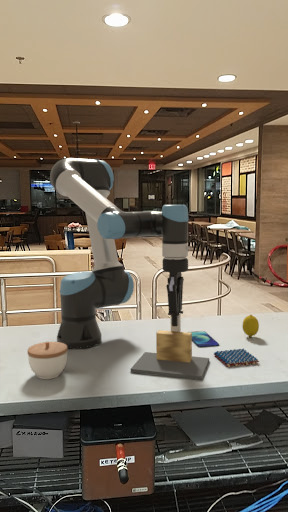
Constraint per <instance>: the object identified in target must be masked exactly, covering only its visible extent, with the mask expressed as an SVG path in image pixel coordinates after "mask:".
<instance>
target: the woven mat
mask: <svg viewBox="0 0 288 512" xmlns="http://www.w3.org/2000/svg"><path fill="white" fill-rule="evenodd" d="M213 356H214V357H215V358H217V359H218V360H219V361H220V362H221V363H222V364H224V366H225V367H227V368H231V367H232V368H233V367H240V366H242V367H245V366H251V365H253V366H254V365H258V364H259V362H260V360H258V359H257V357H256V356H254V355H253V354H252V353H250V352H249V351H247V350H246V349H245V348H238V349H236V348H235V349H229V350H227V349H226V350H216V351H214V352H213Z"/></svg>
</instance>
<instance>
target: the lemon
mask: <svg viewBox="0 0 288 512" xmlns="http://www.w3.org/2000/svg"><path fill="white" fill-rule="evenodd" d="M259 323H260V322H259V320H258V319H257V317H256V316H254V315H252V314H249V315H247V316H246V317H245V318H244V319H243V321H242V324H241V325H242V326H241V327H242V330H243V332H244V334H245V335H247V336H248V337H250V338H251V337H254V336H255V335H257V334H258V332H259V330H260V327H259V326H260V324H259Z"/></svg>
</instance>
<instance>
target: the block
mask: <svg viewBox="0 0 288 512" xmlns="http://www.w3.org/2000/svg"><path fill="white" fill-rule="evenodd" d="M189 332H190V331H188V332H187V331H181V332H176V331H171V330H160V329H159V330H157V332H156V336H155V338H156V341H155V342H156V344H155V345H156V353H157V359H159V360H169V361H179V362H189V363H190V361H191V360H192V356H193V351H192V350H193V342H192V333H189Z"/></svg>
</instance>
